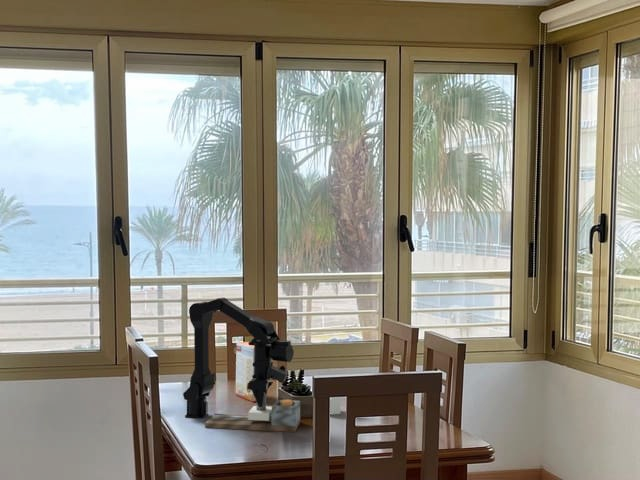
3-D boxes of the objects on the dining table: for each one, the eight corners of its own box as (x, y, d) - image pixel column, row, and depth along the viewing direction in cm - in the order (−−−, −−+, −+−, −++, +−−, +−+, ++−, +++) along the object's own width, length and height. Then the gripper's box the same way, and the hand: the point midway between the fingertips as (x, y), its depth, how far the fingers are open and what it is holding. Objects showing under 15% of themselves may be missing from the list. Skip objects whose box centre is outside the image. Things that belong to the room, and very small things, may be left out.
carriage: (248, 419, 232) (248, 397, 232) (253, 412, 241) (253, 391, 241) (268, 420, 231) (269, 398, 231) (273, 413, 240) (274, 392, 240)
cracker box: (266, 400, 270) (266, 346, 270) (252, 402, 266) (253, 347, 266) (248, 393, 281) (249, 341, 281) (234, 395, 278) (235, 342, 278)
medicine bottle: (314, 411, 255) (315, 378, 255) (332, 409, 258) (333, 376, 258) (322, 416, 249) (323, 382, 249) (340, 414, 252) (341, 380, 251)
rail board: (205, 427, 232) (205, 404, 232) (214, 417, 244) (214, 396, 244) (295, 431, 228) (295, 408, 228) (300, 421, 240) (300, 400, 240)
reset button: (279, 408, 233) (279, 402, 233) (281, 405, 237) (281, 399, 237) (291, 408, 233) (291, 402, 233) (293, 405, 237) (293, 399, 237)
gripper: (281, 365, 225) (280, 414, 226) (290, 355, 244) (289, 400, 244) (247, 364, 227) (246, 412, 227) (258, 354, 245) (258, 398, 245)
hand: (261, 405), depth 236 cm, fingers closed on carriage, 3 cm apart
